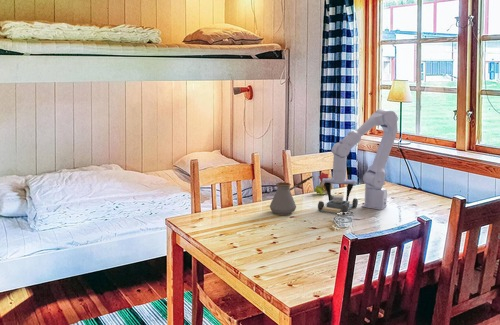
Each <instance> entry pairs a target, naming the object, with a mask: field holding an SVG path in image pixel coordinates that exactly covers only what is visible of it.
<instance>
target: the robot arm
mask: <svg viewBox="0 0 500 325" xmlns="http://www.w3.org/2000/svg"><path fill="white" fill-rule="evenodd" d="M398 120H399V116H398V115H397V113H396V112H395V111H394V110H391V109H389V110H388V109H384V108H378V109H377V110H375V112H373V113H371V116H370V117H368V119H366V120H365V121H364V123H363V124H361V125H360V126H359V127H358V128H357V129H356V130H352V131H348V132H347V135H345V137H343V138H342V139H339V142H335V143H334V144H333V146H332V148H331V153H332V154H333V157H332V158H333V162H332V178H323V179H322V183H325V188H326V190H327V193H328V194H327V193H326V194H327V196H328V201H329V200H330V199H331V195H332V192H331V191H332V189H331V184H334V185H346V198H345V201H349V197H350V194H351V191H352V190H353V187H354V186H356V185H357V180H354V179H347V160H348V158H347V157H348V156H349V154H350V151H351V150H352V149H353V148H354V147H356V145H357V144H359V143H360V142H362V141H361V140H362V137H363V136H364V135H365V134H367V133H368V132H369V131H370V130H372V129H373V128H374V127H377V126H380V127H381V129H382V130H383V134H382V136H381V140H380V142H379V145H378V148H377V150H376V153H375V156H374V158H373V161H372V164H370V166H369V167H367V170H366V171H365V173H364V174H363V176H362V180H363V182H364V185H365V186H364V189H365V190H364V203H363V204H362V205H361V208H369V209H376V210H384V209H385V208H386V207H387V199H388V198H387V197H388V191H387V189H386V188H383V187H384V185H385V183H386V175H387V173H386V171H385V167H386V164H387V162H388V159H389V156H390V153H391V150H392V148H393V144H394V142H395V139H396V136H397V135H398V134H397V133H398V132H399V131H398V130H399V128H398Z"/></svg>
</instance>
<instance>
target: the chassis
mask: <svg viewBox="0 0 500 325" xmlns="http://www.w3.org/2000/svg"><path fill="white" fill-rule="evenodd" d="M334 195H335V194H334ZM334 195H333V194H331V199H330V200H329V199H328V201H327V202H326V206H325V203H324V201H321V200H319V201H318V203H317V210H318V211H319V212H320V213H326V214H331V215H337V213H340V212H347V213H348V212H349V211H350V210H352V209H353V208H357V207H358V203H359V200H358V198H355V197H354V198H352V202H351V203H350V201H349V200H348V201H346V200H343V205H340V204H334V203H333V200H334Z"/></svg>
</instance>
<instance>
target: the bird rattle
mask: <svg viewBox="0 0 500 325" xmlns="http://www.w3.org/2000/svg"><path fill="white" fill-rule="evenodd" d="M323 178H329V173H324V172H323V171H322V172H321V174H320V175H319V176H318V179H319V181H320V182H319V185H318V184H316V187H315V188H314V189H313V190H314V192H315V193H316V194H317V193H319V195H322V196H324V195H325V194H327V190H326V188H325V183H322V179H323ZM332 189H333V184H331V190H332Z"/></svg>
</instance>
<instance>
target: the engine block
mask: <svg viewBox="0 0 500 325" xmlns="http://www.w3.org/2000/svg"><path fill="white" fill-rule="evenodd" d="M343 201H344V195H337V194H334V200H333V203H334V204H340V205H343Z"/></svg>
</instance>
